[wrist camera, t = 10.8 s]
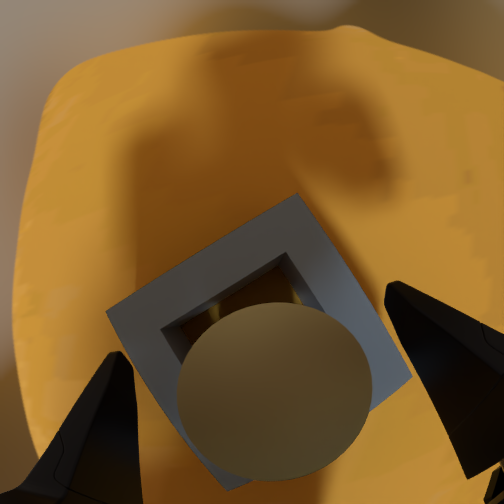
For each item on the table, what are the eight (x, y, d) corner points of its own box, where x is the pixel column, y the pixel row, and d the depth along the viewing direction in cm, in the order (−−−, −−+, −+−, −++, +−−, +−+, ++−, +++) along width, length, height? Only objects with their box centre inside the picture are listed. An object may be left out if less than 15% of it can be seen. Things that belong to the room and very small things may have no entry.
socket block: (381, 365, 16) (412, 376, 12) (231, 458, 15) (227, 491, 11) (287, 218, 18) (297, 192, 14) (134, 312, 17) (105, 311, 13)
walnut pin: (312, 356, 16) (400, 413, 6) (248, 395, 16) (246, 505, 5) (272, 294, 17) (308, 263, 6) (208, 334, 17) (140, 366, 6)
